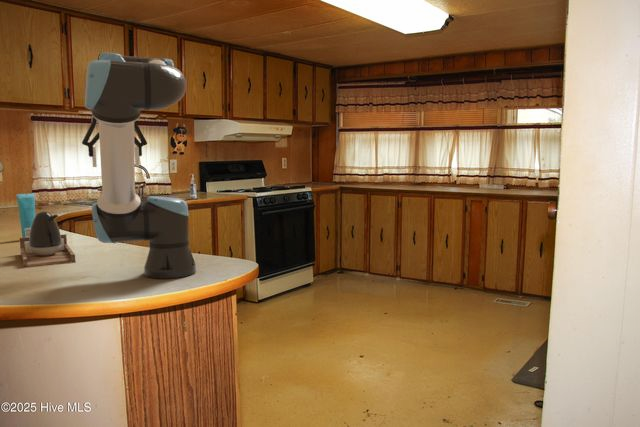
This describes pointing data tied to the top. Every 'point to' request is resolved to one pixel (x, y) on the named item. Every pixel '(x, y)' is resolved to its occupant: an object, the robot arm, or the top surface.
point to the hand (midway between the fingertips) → (116, 166)
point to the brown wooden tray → (37, 260)
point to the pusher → (28, 250)
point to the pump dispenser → (44, 235)
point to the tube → (26, 212)
